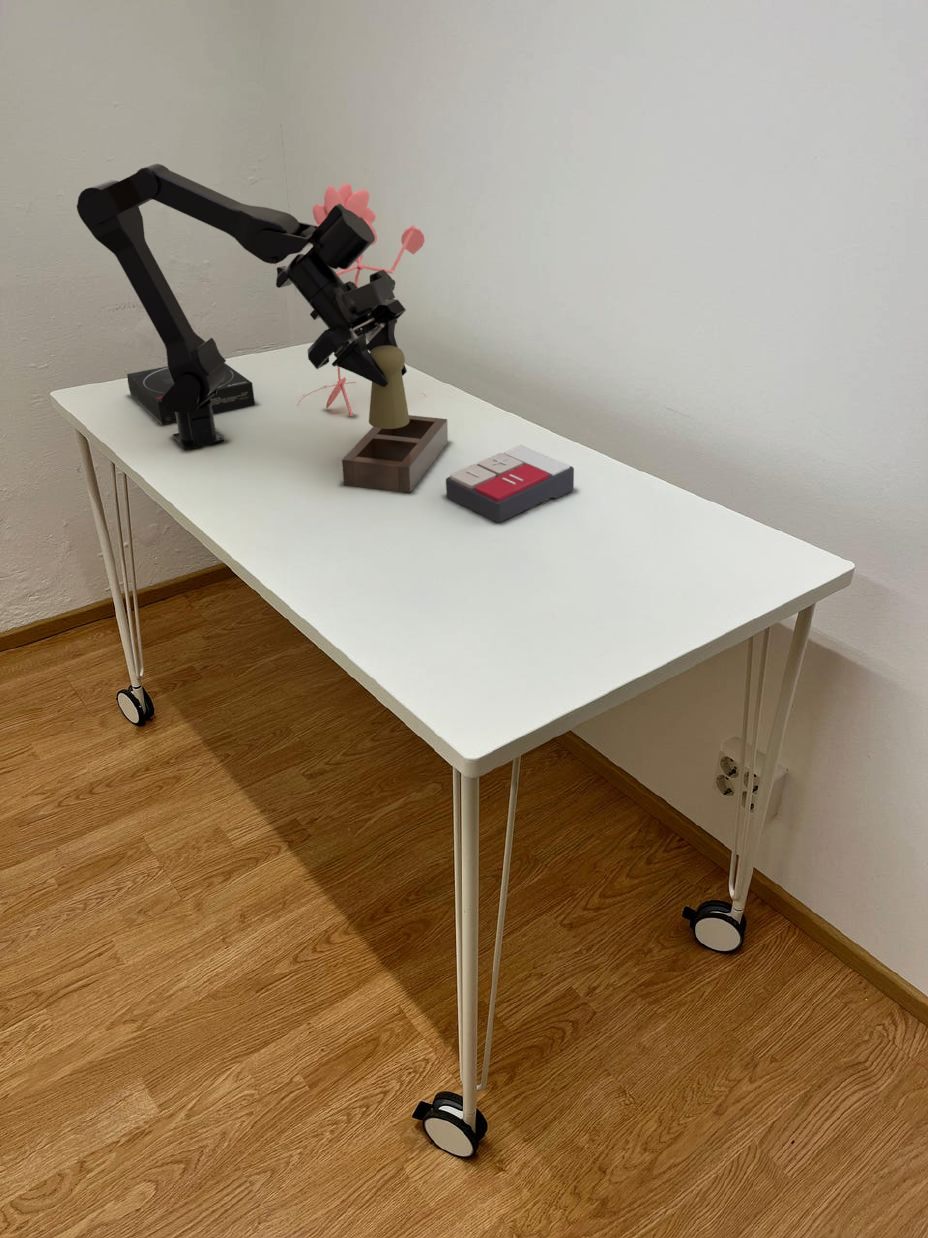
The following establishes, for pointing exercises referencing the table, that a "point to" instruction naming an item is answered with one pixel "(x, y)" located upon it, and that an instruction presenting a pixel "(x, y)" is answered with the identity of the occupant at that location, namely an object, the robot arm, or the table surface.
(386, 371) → the olive game pawn
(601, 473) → the table surface
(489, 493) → the calculator
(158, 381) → the portable cd player
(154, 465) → the table surface
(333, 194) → the figurine
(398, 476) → the hole block
